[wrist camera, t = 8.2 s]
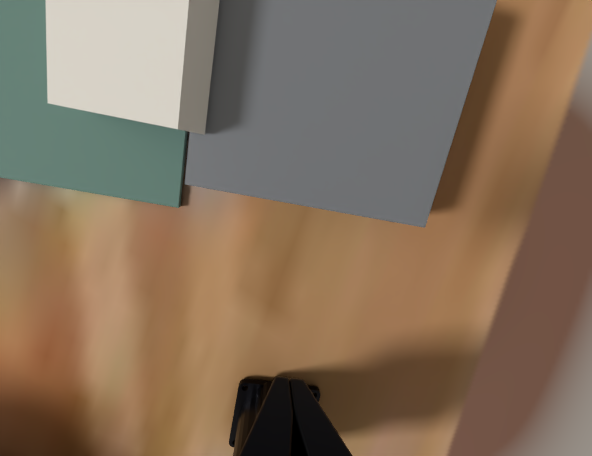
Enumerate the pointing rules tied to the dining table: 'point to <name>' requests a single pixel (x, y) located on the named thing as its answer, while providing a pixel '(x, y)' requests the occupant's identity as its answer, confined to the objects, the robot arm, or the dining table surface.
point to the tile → (133, 59)
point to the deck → (338, 101)
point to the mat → (74, 127)
